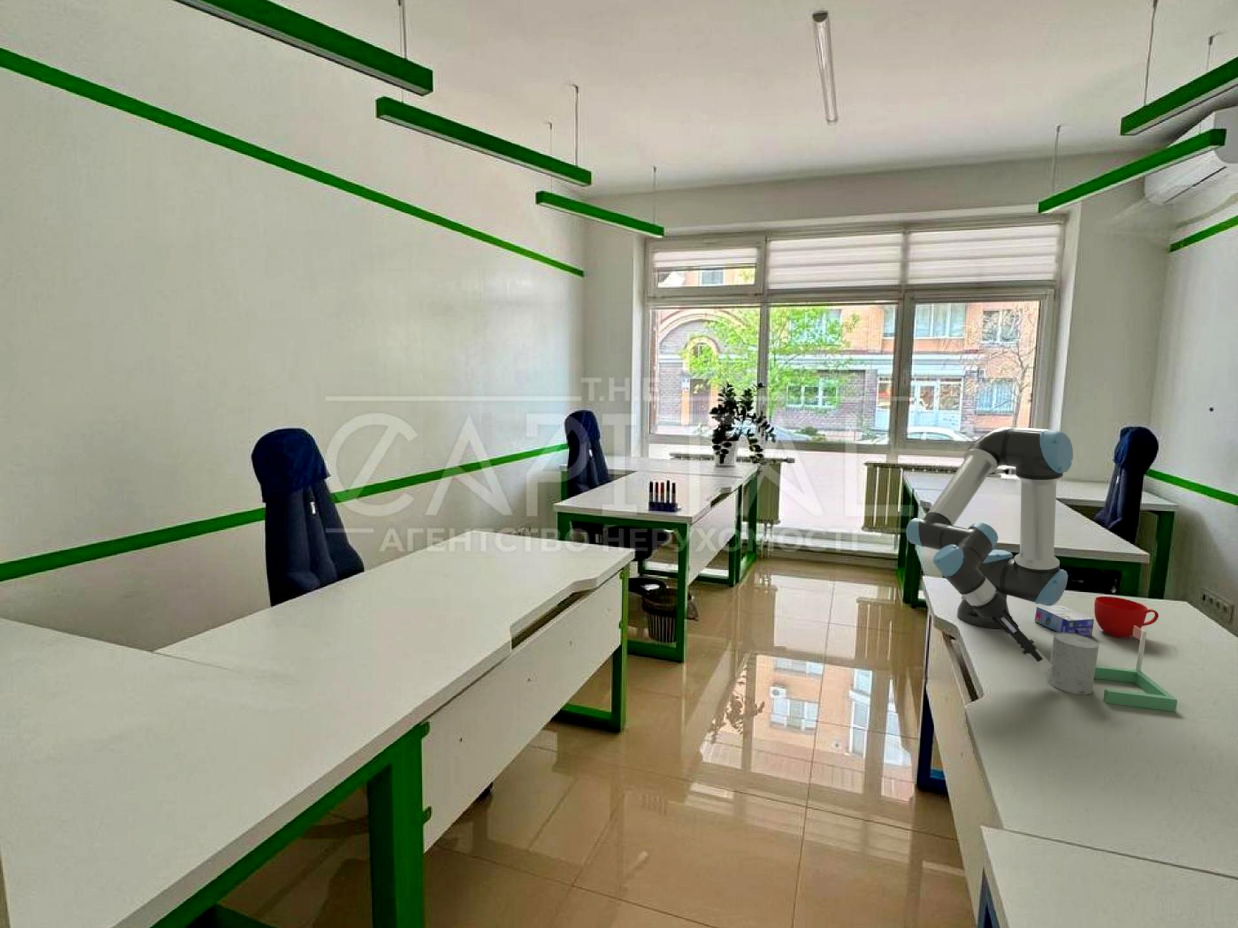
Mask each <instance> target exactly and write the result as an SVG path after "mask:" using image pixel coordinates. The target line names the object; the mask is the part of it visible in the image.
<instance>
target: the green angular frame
mask: <svg viewBox="0 0 1238 928" xmlns="http://www.w3.org/2000/svg"><path fill="white" fill-rule="evenodd" d="M1147 634H1148V633H1147V631H1146V630H1143V629H1142V628H1141V629H1140V628H1138V627H1137V626H1135V625H1134V629H1133V635H1132V636H1133V637H1135V638H1136V639H1138V640H1139V646H1138V653H1137V660H1136V665H1135V669H1131V668H1122V667H1114V666H1105V665H1097V664H1096V668H1095V675H1094V679H1099V680H1105V681H1106V680H1107V681H1114V682H1122V683H1123V682H1125V683H1131V684H1132V683H1133V684H1135V685H1136V686H1138V687H1139V688H1141V690H1143V691H1144V692H1137V691H1128V690H1119V689H1114V688H1104V693H1103V698H1102V700H1103V701H1104V702H1105V703H1106V704H1113V705H1120V706H1128V707H1135V708H1142V709H1143V708H1146V709H1152V710H1160V711H1168V712H1175V713H1176V712H1177V705H1178V699H1177V698H1176V697H1175V696H1173V695H1172V694H1171V693H1170V692H1168V691H1167V690H1166V689H1164V688H1163V687H1162V686H1161V685H1159V684H1158V683H1157V682H1156V681H1154V680H1153V679H1152V678H1150V677H1149V676H1148V675H1147V674H1145V673H1144V672H1142V665H1143V658H1144V652H1145V645H1146V639H1147Z"/></svg>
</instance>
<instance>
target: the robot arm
mask: <svg viewBox="0 0 1238 928" xmlns="http://www.w3.org/2000/svg"><path fill="white" fill-rule="evenodd" d="M1073 458H1074V449H1073V444H1072V441H1071V439H1070V437H1069V436H1068V435H1067V434H1066V433H1065V432H1063V431H1059V430H1051V429H1048V428H1044V429H1043V428H1031V427H1027V428H1025V427H1015V426H1002V427H999V428H996V429H992V430H990V431H988V432H986V433H985V434H983V435H982V436H980V437H979V438H977V439H976V440H975V441H974V442H972V444H970V445H969V446H968V448H967V450H966V451H965V453H964V454H963V462H962V463H961V464H960V466H959V467H958V469H957V470H956V472H955V473H954V474H953V476H952V477H951V479H950V480H949V481H948V483H947V484H946V486H945V488H943V490H942V491H941V493H940V495H939V496H938V497H937V499H936V500H935V502H934V503H933V504H932V506H931V508H930V509H929V510H928V512H927V513H926V515H925V516H924V518H920V517H919V518H918V517H914V518H913V519H910V520H909V522H908V524H907V526H906V532H905V534H906V538H907V541H908V542H910V544H914V545H916V546H919V547H922V548H928V549H933V550H936V551H937V552H936V553H935V554H934V556H933V557H932V560H933V561H932V563H933V564H934V566H935V568H937V570H938V571H939V573H940V574H941V575H942V576H943V577H944V578H945V579H946V580H947V581H948V582H949V583H950V584H951V586H952V587H954V589H955V590H956V591H957V592H958V593H959V594H960V596H961V597H960V598H961V602H960V604H959V605H958V607H957V612H956V613H957V614H956V615H957V618H958V619H960V620H962V621H964V622H966V623H968V624H971V625H974V626H979V627H983V628H988V629H1002V630H1003V631H1004V632H1005V633H1006V634H1009V635H1010V636H1011V637H1012V639H1013V640H1015V642H1016V643H1017V644H1018V645H1019V646H1020V649H1023V650H1022V654H1023V655H1025V656H1026V655H1028V657H1029V658H1030V659H1031V661H1033V662H1034V663H1035V664H1036V665H1037V667H1038V668H1039V669H1040V670H1041V671H1042V673H1044V672H1046V671H1047V670H1048V671H1049V668H1051V667H1052V665H1051V663H1050V661H1049V660H1048V659H1047V658H1046V657H1045V656H1044V654H1043V653H1042V652H1041V651H1040V650H1039V649H1038V648H1037V646H1036V645H1034V643H1035V641H1034V640H1033V639H1030V640H1029V638H1028V637H1027V636H1026V635H1025V634H1024V632H1023V631H1021V629H1020V628H1019V625H1018V624H1017V622H1016V621H1015V620H1014V619H1013V616H1012V615H1011V613H1010V609H1009V606H1008V596H1010V597H1012V598H1016V599H1019V600H1024V601H1027V602H1031V603H1034V604H1036V605H1038V604H1039V605H1041V606H1055V605H1056V604H1058V602H1059V601H1060V600H1061V598H1062V596H1063V595H1064V593H1065V590H1066V587H1067V583H1068V578H1069V575H1068V572H1067V571H1066V570H1064V569H1063V568H1062V569H1061V568H1060V566H1061V565H1060V563H1061V562H1060V560H1059V559H1058V558H1057V557H1056V556H1055V533H1056V532H1055V531H1056V528H1055V527H1056V505H1057V504H1056V503H1057V502H1056V501H1057V481H1059V480H1060V479H1062V478H1063V477H1064V474H1065V473H1067V472H1068V471H1069V470H1070V469H1071V468H1072V463H1073V462H1072V461H1073ZM1003 466H1006V467H1007V466H1008V467H1013V468H1015V476H1016V477H1017V478H1018V479H1019V480H1021V482H1020V483H1021V485H1020V488H1021V489H1020V526H1019V527H1020V531H1019V532H1020V536H1019V553H1018V554H1016V555H1015V556H1014V555H1013V553H1012V552H1011V551H1009V550H1008V551H1007V550H1003V549H994V548H995V546H996V544H997V543H998V541H999V535H998V533H997V530H995V529H994V527H992V526H991V525H989V524H987V523H984V522H975V523H973V524H972V523H971V525H969V526H968V528H966V527H962V526H961V527H960V526H955V525H956V523H957V521H958V520H959V519H960V517H961V515H962V514H963V512H964V511H965V510H966V508H967V507H968V505H969V503H970V502H971V501H972V499H973V498H974V496H975V495H976V494H977V492H978V490H979V489H980V488H981V486H982V484H983V483H984V481H985V480H986V479H987V477H988V475H989V474H992V473H994V472H996V470H997V469H998V468H999V467H1003Z"/></svg>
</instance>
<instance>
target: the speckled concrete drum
mask: <svg viewBox="0 0 1238 928" xmlns="http://www.w3.org/2000/svg"><path fill="white" fill-rule="evenodd" d="M1052 638H1053V639H1052V646H1051V653H1050V654H1051V656H1050V661H1049V662H1050V663H1051V665H1052V667H1051V668H1049V669H1048V676H1047V682H1048V684H1049V685H1051V686H1052V687H1054V688H1056V689H1058V690H1060V691H1062V692H1063V691H1064V692H1067V693H1071V694H1075V695H1083V696H1084V695H1091V694H1092V693H1093V692H1094V690H1093V688H1094V680H1095V678H1094V675H1095V668H1096V665H1097V660H1098V653H1099V648H1100V644H1099V642H1097V641H1096V640H1094V639H1092V638H1090V637H1087V636H1086V635H1084V636H1082V635H1077V634H1072V633H1063V632H1061V633H1059V632H1055V633H1054V634H1053V637H1052Z"/></svg>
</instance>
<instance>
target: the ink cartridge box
mask: <svg viewBox="0 0 1238 928" xmlns="http://www.w3.org/2000/svg"><path fill="white" fill-rule="evenodd" d="M1034 622H1035V623H1037V624H1039V625H1041V626H1043V627H1046V628H1048V629H1051V630H1053V631H1055V632H1056V633H1061V632H1063V633H1072V634H1077V635H1081V636H1092V635H1093V628H1094V623H1095V618H1093V617H1089V616H1088V615H1085V614H1082V613H1080V612H1078V611H1075V610H1073V609H1070V608H1068V607H1067V606H1064V605H1052V606H1046V605H1041V606H1036V611H1035V615H1034Z"/></svg>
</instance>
